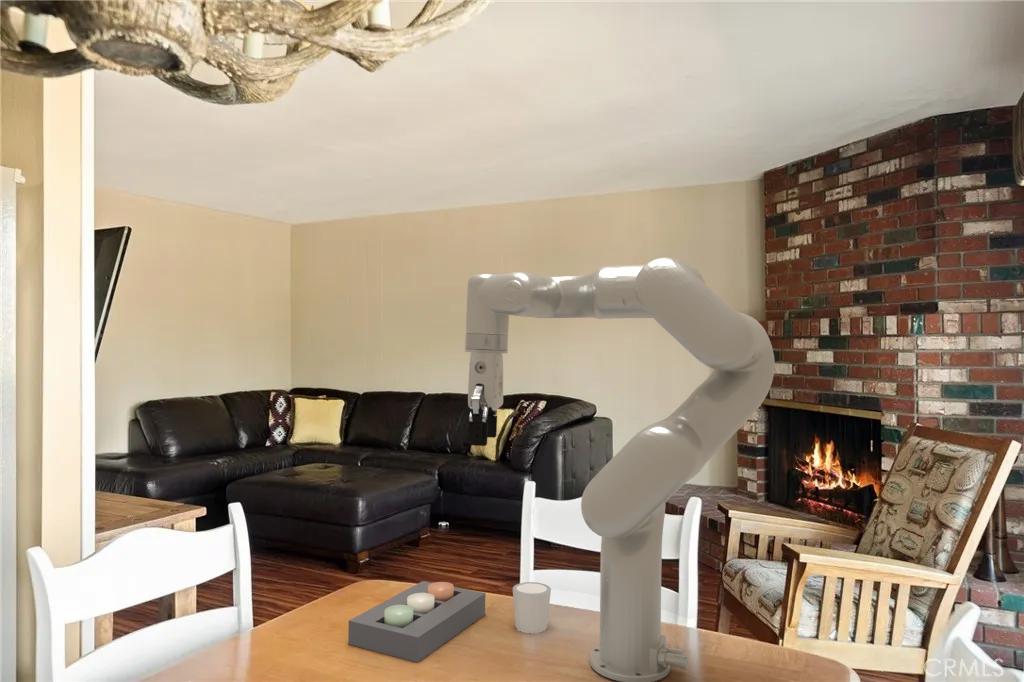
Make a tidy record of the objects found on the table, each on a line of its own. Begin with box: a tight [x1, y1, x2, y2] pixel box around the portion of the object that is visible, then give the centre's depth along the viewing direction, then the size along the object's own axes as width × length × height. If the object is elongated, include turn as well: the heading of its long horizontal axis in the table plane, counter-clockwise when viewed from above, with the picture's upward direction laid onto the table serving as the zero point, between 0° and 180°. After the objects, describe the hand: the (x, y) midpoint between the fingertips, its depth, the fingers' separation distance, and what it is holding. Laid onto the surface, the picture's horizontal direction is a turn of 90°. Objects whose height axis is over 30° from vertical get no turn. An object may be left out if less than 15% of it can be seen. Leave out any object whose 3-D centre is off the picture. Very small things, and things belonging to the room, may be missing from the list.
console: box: [347, 580, 486, 664], centre depth 121 cm, size 14×22×4 cm, turn 153°
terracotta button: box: [428, 581, 455, 602], centre depth 127 cm, size 5×5×3 cm
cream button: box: [407, 593, 434, 614], centre depth 121 cm, size 5×5×3 cm
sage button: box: [384, 605, 413, 628], centre depth 116 cm, size 5×5×3 cm
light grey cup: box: [512, 581, 552, 635], centre depth 123 cm, size 7×7×7 cm
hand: (482, 440), depth 121 cm, fingers open, 9 cm apart
